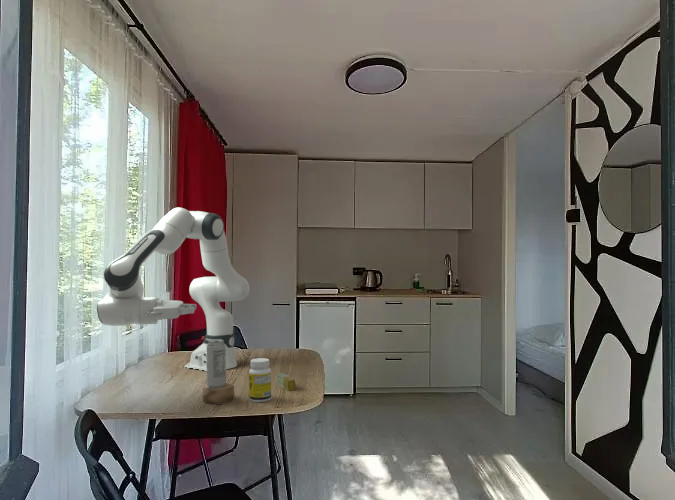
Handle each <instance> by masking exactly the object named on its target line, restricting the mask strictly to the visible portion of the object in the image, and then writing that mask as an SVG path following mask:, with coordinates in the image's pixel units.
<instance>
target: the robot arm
mask: <svg viewBox="0 0 675 500" xmlns="http://www.w3.org/2000/svg"><path fill="white" fill-rule="evenodd" d="M186 239H193V240H199V247H200V255H201V261H202V265H203V268H204V269H205V270H206V271H209V272H211V273H212V274H214V275H215V276H202V277H197V278H193V279H192V281H191V282H190V285H189V289H188V290H189V291H188V292H189V295H190V296H191V297H190V298H191V299H192V300H193V301H195V302H196V303H198V305H199V306H200V307H201V309H202V310H203V313H204V315H205V321H206V334H205V335H204V336H202V335H201V340H203V342H202V344H200V345H199V346H198V347H197V348H196V349H194V350H193V351H192V352H191V354H190V359H189V360H190V361H189V362H187V363H186V364H185V365H184V368H185V367H187V368H186V369H189V368H193V369H192V370H195V369H199V370H198V371H202V370H204V371H203V372H207V345H208V343H209V342H208V341H210V340H224V343H225V345H226V370H228V369H233V368H236V367H238V363H237V362H238V361H237V357H236V353H235V333H234V316H233V315H232V313H231V312H230V311H228V310H226V309H223V308H222V306H221V303H220V302H223V303H224V302H229V303H230V302H238V301H242V300H243V301H244V300H245V299H246V298H248V296H249V294H250V284H249V282H248V280H247V279H246V277H243V276H242V275H241V274H239V273H238V272H237V271H236V270H235V268H234V267H233V265H232V263H231V259H230V255H229V248H228V242H227V236H226V232H225V223H224V221H223V218H222V217H221V216H220V215H219V214H217V213H214V212H206V211H201V210H196V211H195V210H188V209H186V208H183V207H174V208H172V209H171V210H170V211H169V212H168V213H166V214H165V215H164V216H163V217H162V218H161V219H160V220H159V221H158V223H157V224H156V225H155V226H154V227H153V228H152V229H150V230H147V231H146V232H145V233H144V234H143V235H142V236H141V237H140V238H138V240H137V241H135V243H134V244H133V245H131V247H130V248H128V249H127V250H126V252H124V253H123V254H122V255H120V256H119V257H117V258H116V259H114V260H111V261H110V262H109V263H108V264H107V266H106V267H105V268H104V271H103V279H104V281H105V282H106V284H107V285H108V287H109V290H108V292H107V294H106V295H105V296H104V297H103V298H102V299H101V300H98V301H97V304H96V313H97V317H98V320H99V321H100V322H101V324H102V325H105V326H117V327H119V326H123V327H125V326H130V325H140V326H141V325H156V324H158V322H159V320H160V321H162V320H173V319H178V318H179V317H180V316H183V315H189V314H195V311H196V310H197V304H196V303H184V301H181V300H171V299H161V298H158V297H157V296H147V297H144V296H143V295H144V285H143V281H142V279H141V277H140V270H141V267H142V266H143V264H144V263H145V262H146V261H147V260H148V258H149V257H151V256H152V254H154V252H156V253H157V254H161V255H171V254H173V253H175V252H176V251H177V250H178V249H179V248H180V247H181V246H182V244H183V242H184V241H185V240H186Z"/></svg>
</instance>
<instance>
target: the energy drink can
mask: <svg viewBox="0 0 675 500" xmlns="http://www.w3.org/2000/svg"><path fill="white" fill-rule="evenodd" d="M208 342H209V343H208V345H207V371H206V386H207V385H208V386H209V388H210V389H219V388H223V387H224V385H225V384H226V383H227V374H226V373H227V369H226V345H225V343H224V340H210V341H208Z"/></svg>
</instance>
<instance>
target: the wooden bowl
mask: <svg viewBox="0 0 675 500" xmlns="http://www.w3.org/2000/svg"><path fill="white" fill-rule="evenodd" d="M234 400H235V385H234V384H233V383H227V382H226V384H225V385H224V387H223V388H219V389H210V388H209V386H208V385H207V384H206V385H205V386H203V387H202V402H203V403H204V402H205V403H204V404H207V403H208V405H219V404H220V405H221V404H227V403H229V402H232V401H234Z"/></svg>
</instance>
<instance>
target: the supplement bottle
mask: <svg viewBox="0 0 675 500" xmlns="http://www.w3.org/2000/svg"><path fill="white" fill-rule="evenodd" d="M249 363H250V369H249V371H248V389H249V392H248V396H249V397H248V399H249V400H250V401H251V402H253V403H264V402H269V401H271V399H272V398H273V397H272V369H271V368H270V359H269V358H264V357H261V358H259V357H258V358H253V359H251V360H250V362H249Z"/></svg>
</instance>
